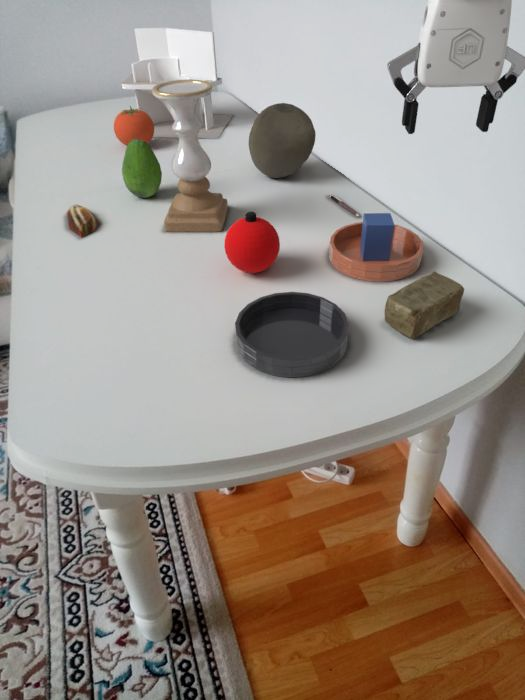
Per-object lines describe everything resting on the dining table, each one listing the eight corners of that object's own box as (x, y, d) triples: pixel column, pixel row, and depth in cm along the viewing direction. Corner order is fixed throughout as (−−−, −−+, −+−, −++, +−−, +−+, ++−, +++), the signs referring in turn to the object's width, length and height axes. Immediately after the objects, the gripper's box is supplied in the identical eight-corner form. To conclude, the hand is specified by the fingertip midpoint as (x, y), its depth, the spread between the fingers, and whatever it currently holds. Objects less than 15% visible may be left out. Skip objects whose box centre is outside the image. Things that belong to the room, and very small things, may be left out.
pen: (327, 197, 108) (328, 193, 108) (331, 196, 109) (331, 192, 108) (357, 218, 100) (358, 213, 100) (361, 217, 101) (361, 212, 100)
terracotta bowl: (438, 257, 88) (441, 241, 86) (382, 292, 80) (385, 276, 78) (367, 228, 97) (368, 213, 95) (311, 258, 89) (311, 242, 87)
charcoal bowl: (369, 340, 71) (372, 323, 69) (291, 395, 64) (291, 377, 62) (291, 296, 80) (291, 280, 78) (214, 340, 72) (212, 323, 70)
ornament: (290, 265, 87) (291, 209, 81) (257, 289, 82) (255, 231, 76) (249, 250, 92) (246, 196, 85) (215, 272, 86) (209, 216, 80)
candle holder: (228, 207, 106) (218, 77, 91) (221, 231, 97) (209, 94, 82) (175, 207, 107) (157, 79, 91) (164, 231, 98) (142, 95, 83)
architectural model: (118, 136, 143) (99, 39, 128) (142, 114, 159) (127, 25, 144) (218, 138, 140) (209, 38, 125) (232, 115, 156) (226, 24, 141)
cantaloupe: (266, 192, 111) (264, 118, 101) (241, 170, 121) (237, 101, 111) (324, 180, 115) (327, 108, 106) (295, 160, 125) (296, 93, 116)
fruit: (156, 204, 108) (146, 146, 100) (121, 202, 109) (108, 144, 102) (170, 189, 114) (161, 133, 106) (136, 187, 115) (125, 131, 107)
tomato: (111, 146, 137) (102, 105, 131) (146, 137, 142) (139, 98, 135) (128, 156, 131) (119, 114, 124) (164, 147, 135) (158, 106, 129)
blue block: (385, 248, 90) (390, 213, 86) (389, 261, 86) (394, 225, 82) (360, 248, 90) (363, 213, 86) (362, 261, 87) (366, 225, 82)
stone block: (379, 324, 74) (383, 295, 71) (429, 295, 79) (435, 266, 76) (412, 344, 70) (418, 314, 67) (462, 311, 76) (470, 282, 73)
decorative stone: (56, 212, 107) (54, 203, 105) (83, 205, 109) (81, 197, 108) (76, 239, 97) (74, 230, 96) (105, 231, 99) (103, 222, 98)
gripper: (402, -19, 57) (385, 140, 68) (563, -26, 56) (520, 136, 67) (391, -24, 63) (377, 124, 74) (537, -30, 62) (501, 120, 73)
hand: (445, 130), depth 71 cm, fingers open, 9 cm apart
